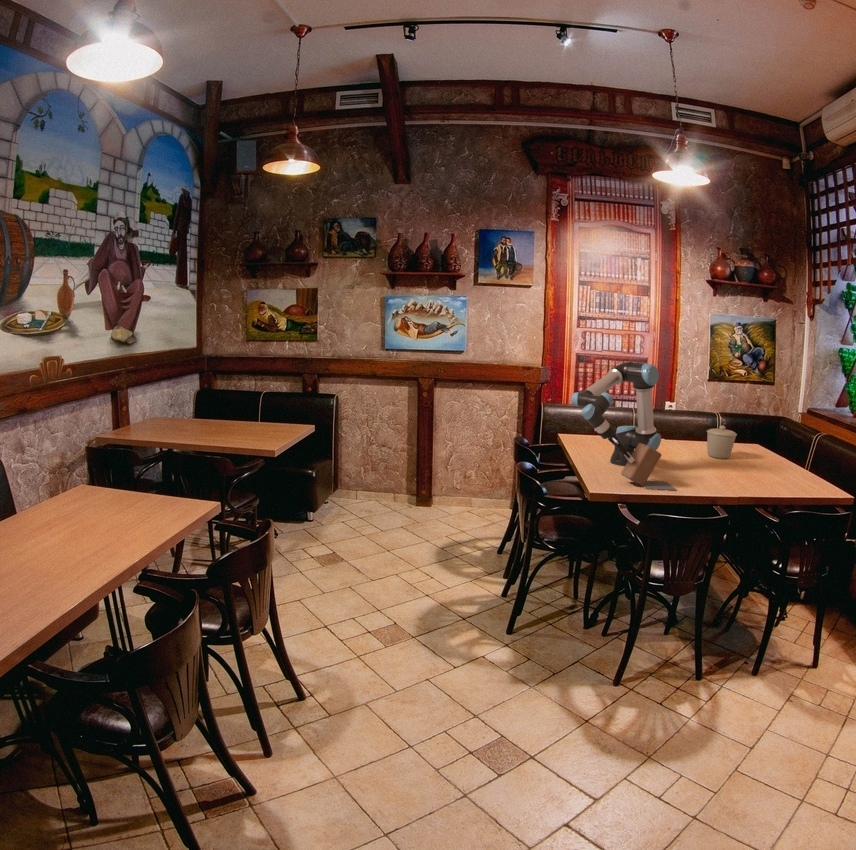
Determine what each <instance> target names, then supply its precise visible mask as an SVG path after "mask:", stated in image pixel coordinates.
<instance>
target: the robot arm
mask: <svg viewBox="0 0 856 850" xmlns="http://www.w3.org/2000/svg"><path fill="white" fill-rule="evenodd" d="M659 377H660V373H659V370H658V367H656V366H655V364H651V363H650V364H649V363H643V362H635V361H625V362H622V363H619V364H617V365H615V366H614V367H612V368H610V369H609V370H608V372H607V374H605V375H604V376H603V377H601V378H600V379H598V380H597V381H595V382H594V383H593V384H592V385H590V386H588V387H587V388H586V389H584V390H583V391H582V392H580V391H579V392H574V393H572V395H571V404H572V405H573V406H576V407H578V408H579V407H580V408H582V410H581V411H580V412H581V415H582V417H583V418H584V420H586V421H587V422H588V423H589V425H590V426H591V427H592V428H593V429H594V432H597V433H598V434H599V436H600V437H601V438H602V439H603V440H608V441H609V442H610V443H612V445H613V446H614V449H613V452H612V454H611V456H610V458H609V459H610V460H609V461H610V463H611V464H613V465H615V466H616V465H618V466H623V467H625V466H626V464H627V462H628V461H629V462H630V463H632V462H634V461H635V459H634V458H633V457H632V454H633V452H634V451H635V449H636V447H637V446H638V444H639V443H642V444H644V445H647V446H649V447H651V448H653V449H654V450H656V451H658V449H659V447H660V445H661V443H662V435H661V433H658V432H657V428H656V427H655V426H654V408H653V405H654V404H653V389H654V387H655V385H656V384H657V383H658V381H659V379H660V378H659ZM625 382H626V383H631V384H632V388H633V389H634V390H635V394H636V395H635V397H636V398H635V399H636V413H637V414H636V415H637V426H636V425H621V426H618V427H617V428H616V432H615V428H613V427H612V425H611V424H610V423H609V422H608V420H607V419H606V418H605V417H604V416H603V415H604V414H605V413H606V412H607V410H608V409H609V408H611V405H612V404H613V402H614V398H613V395H611V394H610V393H608V391H609V390H610V389H612V388H614V387H615V386H616V385H620V384H621V383H625Z"/></svg>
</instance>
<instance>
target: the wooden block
mask: <svg viewBox="0 0 856 850" xmlns="http://www.w3.org/2000/svg"><path fill="white" fill-rule="evenodd" d="M632 457H633V458H634V459H635V461H634V462H632V463H630V462H629V461H628V462H627V464H626V466H623V469H622V471H621V472H620V474H621V476H623V477H625V478H627V479H628V480H630V481H632V482H634V483H635V484H637V485H638V486H641V487H643V485H644V484H645V482H646V481H647V480H649V477H650V476H651V474H652V472H653V471H654V469H655V467H656V465H657V464H658V462H659V460H660V459H661V458H662V453H660V452H659V451H658V450H654V449H653V448H651V447H649V446H647V445H644V444H642V443H639V444H638V446H637V447H636V449H635V450H634V452H633V454H632Z"/></svg>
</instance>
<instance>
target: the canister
mask: <svg viewBox="0 0 856 850" xmlns="http://www.w3.org/2000/svg"><path fill="white" fill-rule="evenodd" d="M706 433H707V434H706V435H707V436H706V437H707V441H706V445H707V446H706V448H707V449H706V450H707V455H708V456H709V457H711V458H714V459H722V460H723V459H724V460H726V459H728V458H730V457H731V454H732V451H733V448H734V444H735V441H736V437H737V435H738V434H737V433H736V432H735V431H733V430H730V429H726V426H725V425H720V426H719V428H710V429H707V430H706Z"/></svg>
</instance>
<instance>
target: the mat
mask: <svg viewBox="0 0 856 850" xmlns="http://www.w3.org/2000/svg"><path fill="white" fill-rule="evenodd" d="M643 486H644V487H645V488H646V489H657V490H656V491H665V490H667V491H669V492H677V491H678V489H677V488H676V487H674V486H673V485H672V484H670V482H668V481H666V480H649V479H647V481H646V482H645V484H644V485H643ZM643 486H642V487H643ZM644 487H643V488H644ZM645 488H644V489H645ZM646 489H645V490H646ZM667 491H666V492H667Z"/></svg>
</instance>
